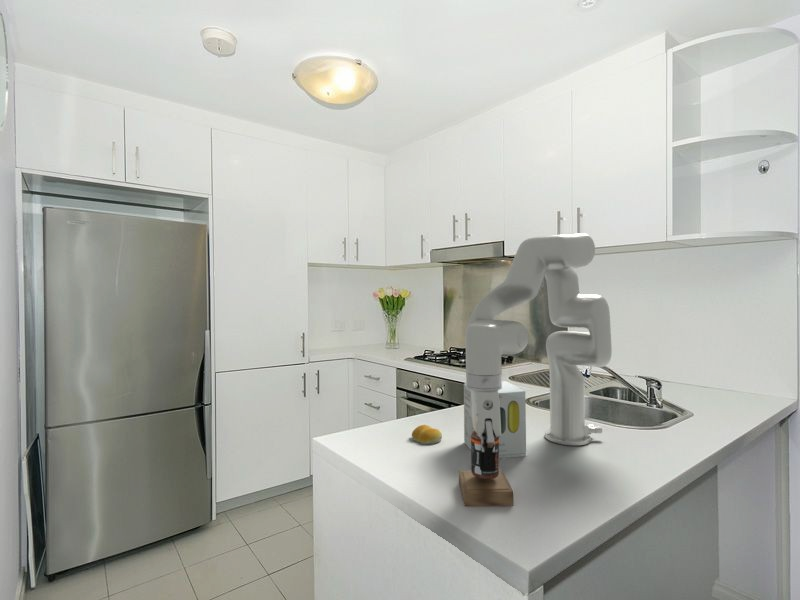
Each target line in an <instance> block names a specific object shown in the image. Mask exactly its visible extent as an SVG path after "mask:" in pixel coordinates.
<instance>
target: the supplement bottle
mask: <svg viewBox="0 0 800 600" xmlns="http://www.w3.org/2000/svg"><path fill="white" fill-rule="evenodd" d="M483 436H486V434H483ZM485 442H486V440H484V444H485ZM494 442H495V455H496V470H495V471H481V470H480V451H481V442H480V438H479V437H478V436H477V434H476V432H475V431H473V432H472V434H471V449H470V471H471V472H472V474H473V475H474V476H475V477H477V478H479V479H486V480H487V479H493V478H496V477H497V476H498V475H499V471H500V458H499V438H498V437H496V436H495V434H494Z"/></svg>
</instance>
